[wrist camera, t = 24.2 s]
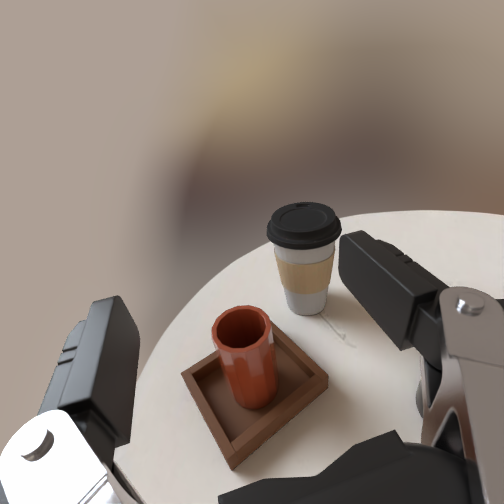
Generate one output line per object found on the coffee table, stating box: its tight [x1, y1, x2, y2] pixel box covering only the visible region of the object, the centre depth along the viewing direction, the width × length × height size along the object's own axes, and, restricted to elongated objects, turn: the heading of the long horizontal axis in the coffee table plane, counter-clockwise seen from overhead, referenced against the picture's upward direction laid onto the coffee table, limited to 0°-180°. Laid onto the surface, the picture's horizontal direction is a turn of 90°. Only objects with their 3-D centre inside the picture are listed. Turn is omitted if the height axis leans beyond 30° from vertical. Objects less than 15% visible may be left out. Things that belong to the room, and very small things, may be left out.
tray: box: [181, 320, 328, 470], centre depth 32 cm, size 13×11×2 cm
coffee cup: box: [267, 202, 342, 315], centre depth 39 cm, size 9×9×15 cm
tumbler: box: [212, 305, 279, 409], centre depth 30 cm, size 6×6×10 cm
